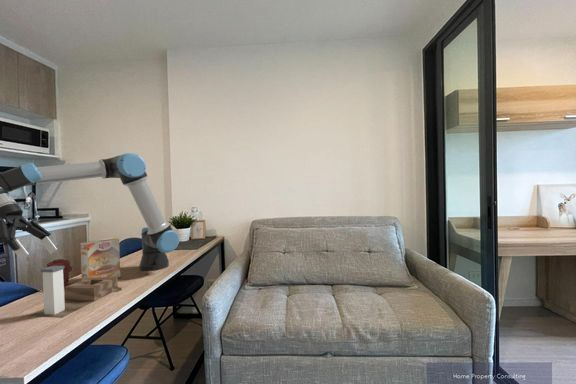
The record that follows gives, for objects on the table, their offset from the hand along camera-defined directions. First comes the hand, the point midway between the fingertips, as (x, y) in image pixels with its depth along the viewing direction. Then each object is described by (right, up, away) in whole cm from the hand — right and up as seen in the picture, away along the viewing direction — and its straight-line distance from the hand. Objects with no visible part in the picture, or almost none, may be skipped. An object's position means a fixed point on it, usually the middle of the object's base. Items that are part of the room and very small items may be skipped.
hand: (40, 254), depth 106 cm
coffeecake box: (-1, -21, +37) cm, 43 cm away
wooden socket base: (+8, -21, +8) cm, 24 cm away
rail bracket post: (+7, -20, -2) cm, 22 cm away
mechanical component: (-16, -21, +29) cm, 39 cm away
